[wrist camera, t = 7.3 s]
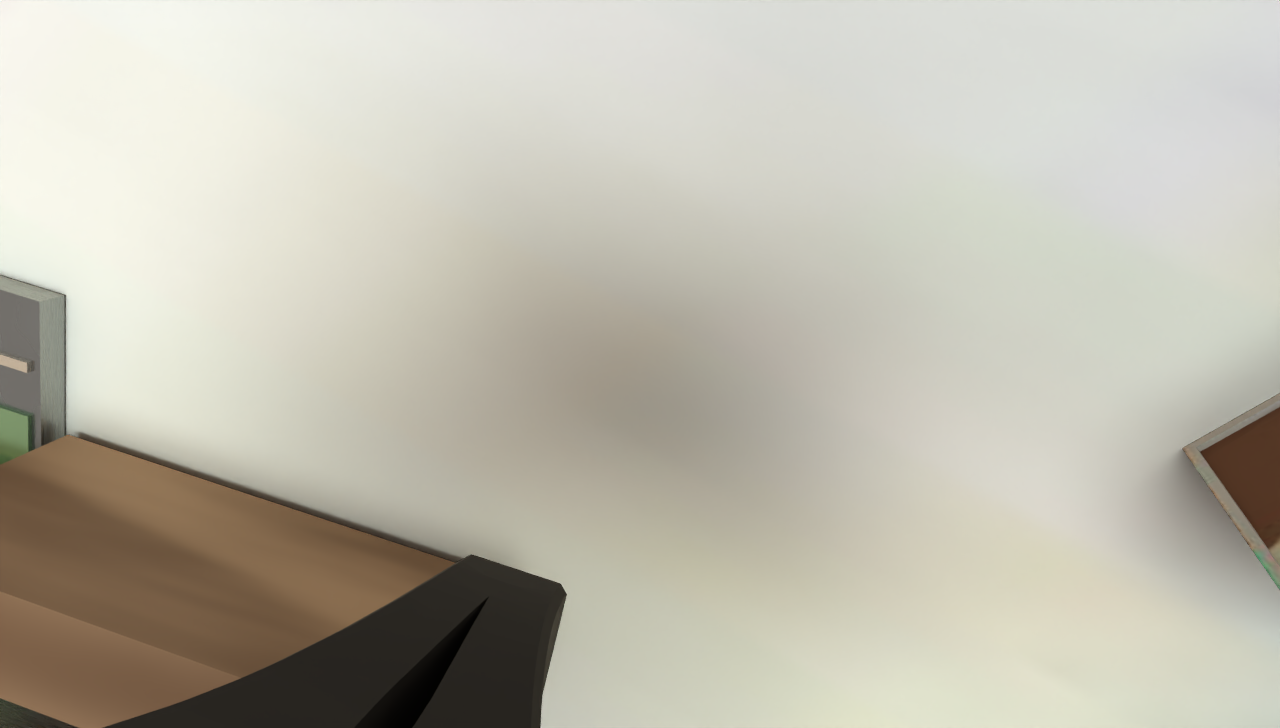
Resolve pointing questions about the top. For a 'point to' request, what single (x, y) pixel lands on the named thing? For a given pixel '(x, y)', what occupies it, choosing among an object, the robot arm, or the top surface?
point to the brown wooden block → (165, 582)
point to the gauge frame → (30, 403)
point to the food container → (1247, 477)
